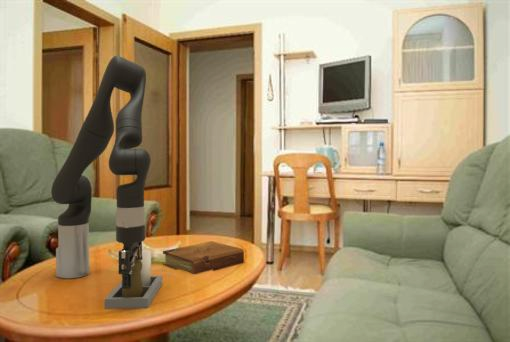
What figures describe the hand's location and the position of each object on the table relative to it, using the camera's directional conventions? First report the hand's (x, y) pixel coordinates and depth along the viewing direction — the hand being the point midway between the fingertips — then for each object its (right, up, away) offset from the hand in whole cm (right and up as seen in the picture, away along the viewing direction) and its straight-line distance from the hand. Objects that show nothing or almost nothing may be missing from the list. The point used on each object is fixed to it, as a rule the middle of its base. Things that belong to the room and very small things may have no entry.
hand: (131, 282), depth 106 cm
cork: (0, -5, +1) cm, 5 cm away
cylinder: (0, -4, +9) cm, 10 cm away
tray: (0, -5, +5) cm, 7 cm away
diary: (+15, -5, +39) cm, 42 cm away
